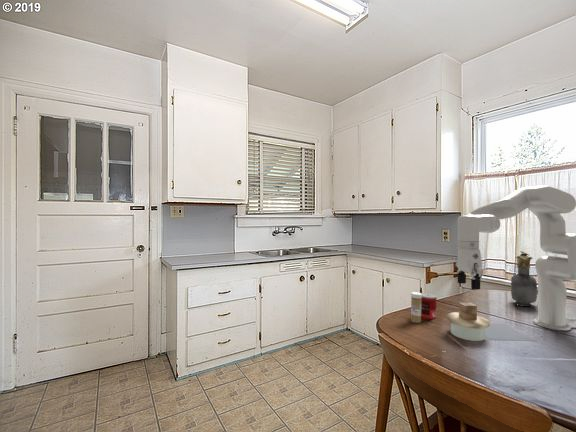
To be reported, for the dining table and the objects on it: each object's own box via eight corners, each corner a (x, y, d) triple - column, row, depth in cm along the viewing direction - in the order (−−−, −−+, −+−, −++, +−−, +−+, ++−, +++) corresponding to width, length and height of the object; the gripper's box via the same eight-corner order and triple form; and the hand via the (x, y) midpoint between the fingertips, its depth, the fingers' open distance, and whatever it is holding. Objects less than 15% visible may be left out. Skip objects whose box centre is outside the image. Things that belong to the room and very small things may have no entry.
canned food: (435, 315, 143) (435, 293, 143) (437, 321, 135) (437, 297, 135) (418, 313, 145) (418, 292, 145) (420, 319, 138) (420, 296, 138)
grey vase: (511, 306, 156) (512, 252, 156) (509, 298, 172) (510, 248, 171) (538, 310, 150) (538, 253, 150) (533, 301, 165) (534, 250, 165)
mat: (504, 324, 131) (504, 323, 131) (536, 342, 113) (536, 340, 113) (464, 323, 132) (464, 322, 132) (490, 341, 114) (490, 339, 114)
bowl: (473, 330, 125) (473, 316, 125) (491, 342, 113) (492, 327, 113) (445, 329, 125) (445, 315, 125) (460, 341, 113) (461, 326, 113)
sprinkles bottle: (409, 321, 134) (409, 293, 134) (412, 319, 138) (412, 291, 138) (419, 324, 131) (420, 295, 131) (422, 321, 135) (422, 292, 135)
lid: (474, 315, 126) (475, 299, 126) (498, 328, 111) (498, 310, 111) (440, 314, 127) (440, 298, 127) (459, 328, 112) (459, 309, 112)
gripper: (491, 247, 110) (491, 291, 110) (465, 242, 127) (465, 281, 127) (471, 247, 110) (471, 291, 110) (448, 242, 127) (448, 281, 128)
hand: (468, 286), depth 119 cm, fingers open, 9 cm apart
